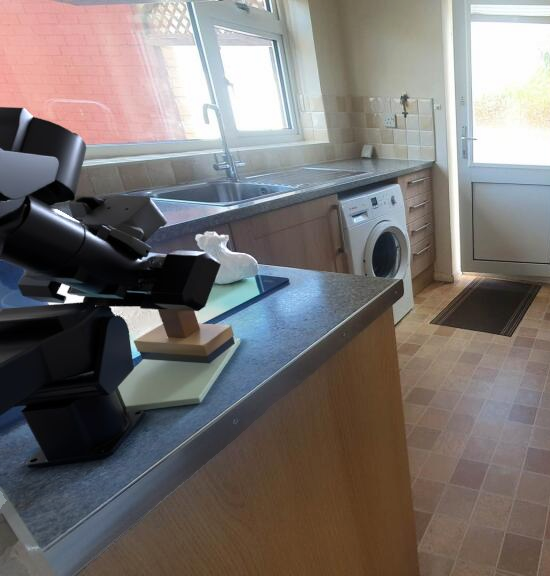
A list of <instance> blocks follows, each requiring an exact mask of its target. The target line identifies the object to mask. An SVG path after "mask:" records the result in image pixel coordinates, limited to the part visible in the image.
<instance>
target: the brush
mask: <svg viewBox="0 0 550 576" xmlns="http://www.w3.org/2000/svg"><path fill="white" fill-rule="evenodd" d="M166 255H167V254H155V255H154V256H160V257H166ZM148 258H149V257H146V258H144V259H142V260H141V261H146V260H147V259H148ZM146 270H148V269H146ZM157 312H158V313H159V317H160V320H161V322H162V324H160V325H158V326H156V327H154V328H153V329H151V330H150V331H147V332H146V333H144V334H143V335H141V336H139V337H138V338H136V339H134V340H133V344H134V345H135V349H136V351H137V352H139V354H140V355H139V356H140V357H141V359H142V360H143V359H146V360H162V361H177V362H192V363H208V364H209V363H211V362H212V361H213V360H215V359H216V358H217V357H218V356H220V355H221V354H222V353H224V352H225V351H226V350H227V349H229V348H230V347H231V346H232V345H234V344H235V342H234V338H235V337H234V336H235V334H234V331H233V327H232V325H230V324H228V325H227V324H213V323H199V321H198V317H197V315H196V311H186V310H173V309H166V310H157Z"/></svg>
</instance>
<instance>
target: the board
mask: <svg viewBox="0 0 550 576" xmlns="http://www.w3.org/2000/svg"><path fill="white" fill-rule="evenodd" d="M233 338H234V342H235V344H234V345H232V346H231V347H230V348H229V349H227V350H226V351H225V352H224V353H222V354H221V355H220V356H218V357H217V358H216V359H215V360H213V361H212V362H211V363H209V364H208V363H192V362H177V361H162V360H146V359H142V360H141V361H140V362H139V363H138V364H136V366H135V367H134V369H133V370H132V372H131V373H130V374H129V375H128V376H127V377H126V378H125V379H124V381H123V382H122V383H121V384H120V385H119V386H118V389H119V391H120V394H121V396H122V399H123V401H124V404H125V406H126V412H129V411H137V410H144V411H148V410H155V409H163V408H173V407H180V406H188V405H197V404H198V405H199V404H201V403H202V402H203V400H204V399H205V397H206V396H207V395H208V393H209V391H210V389H211V388H212V386H213V385H214V384H215V382H216V381H217V379H218V377H219V376H220V374H221V373H222V371H223V370H224V368H225V367H226V365H227V364H228V362H229V361H230V360H231V358H232V356H233V354H235V352H236V351H237V349H238V347H239V346H240V344H241V342H242V341H241V338H240V337H233Z"/></svg>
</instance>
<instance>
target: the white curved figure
mask: <svg viewBox="0 0 550 576" xmlns="http://www.w3.org/2000/svg"><path fill="white" fill-rule="evenodd" d="M229 237H230V236H229V235H228V234H220V235H219V234H218V233H217V232H216V231H209V230H207V231H205V232H203V234H202V233H201V234H200V233H197V234H196V235H195V238H194V240H195V241H196V243H197V244H196V246H198V248H199V249H200V250H202V251H203V252H207V253H209V254H210V255H212V256H213V257H215V258H216V259H218V261H219V262H220V264H221V266H220V268H219V271H218V274H217V276H216V279H215V282H214V284H219V285H225V284H226V285H227V284H231V283H235V282H238V281H241V280H245V279H251V278H255V277H256V276H257V275H258V274H259V269H260V268H259V264H258V261H257V260H256V259H255V258H254V257H253V256H252V255H250V254H247V253H244V252H233V251H231V250H229V248H228V247H227V243H228V241H230V238H229Z"/></svg>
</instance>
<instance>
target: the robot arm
mask: <svg viewBox="0 0 550 576" xmlns="http://www.w3.org/2000/svg"><path fill="white" fill-rule="evenodd" d="M86 151H87V144H86V142H85V140H84V139H83V138H82V137H81V136H80V135H79V134H78V133H76V132H72V131H71V130H69V129H68V128H66V127H64V126H62V125H60V124H58V123H55V122H53V121H49V120H47V119H43V118H40V117H37V116H33V115H32V114H31V113H30V112H29V111H28V110H27V108H25V107H15V106H14V107H13V106H10V107H8V106H0V261H1V262H4V263H7V264H10V265H11V266H14V267H17V268H20V269H22V270H24V271H23V273H22V275H21V277H20V279H19V280H18V282H17V284H16V285H17V287H18V289H19V291H20V294H21V296H22V297H24V298H28V299H31V300H34V301H36V302H40V303H53V304H42V305H30V306H17V307H16V306H15V307H6V308H1V309H0V417H1V416H2V415H4V414H5V413H7V412H8V411H10V410H11V409H13V408H18V407H24V408H23V409H22V410H21V411H20V413H21V415H22V416H23V418H24V420H25V422H26V424H27V425H28V427H29V429H30V431H31V433H32V436H33V437H34V439H35V441H36V442H37V443H36V444H38V446H39V450H37V451H36V452H35V453H34V454H33V455H32V456H31V457H30V458H29V459H28V460H27V461H26V462H25V465H26V466H27V468H28V469H34V468H35V469H36V468H41V467H49V466H56V465H63V464H71V463H76V462H83V461H90V460H91V461H92V460H98V459H105V458H108V457H110V456H112V455H114V453H115V452H116V451H117V450H118V449H119V448H120V446H122V444H123V443H124V441H125V440H126V439H127V438H128V436H129V435H130V434H131V433H132V432H133V431H134V429H135V428H136V427H137V425H138V424H139V423H141V421H142V420H143V419H144V417H145V415H146V413H145V410H137V411H129V412H126V406H125V404H124V401H123V399H122V396H121V394H120V391H119V389H118V386H119V385H120V384H121V383H122V382H123V381H124V379H125V378H126V377H127V376H128V375H129V374H130V373H131V372H132V370H133V369H134V368H135V367H134V359H133V351H132V345H131V344H132V343H131V337H130V330H129V326H128V322H126V319H124V317H122V316H121V315H115V313H114V312H113V310H112V309H113V308H115V307H116V308H117V307H118V308H124V307H125V308H126V307H127V308H128V307H129V308H133V307H135V308H136V307H137V308H139V309H141V310H142V309H144V310H157V311H158V310H166V309H173V310H186V311H194V312H200V311H201V310H203V309H204V308H205V307H206V305H207V303H208V300H209V297H210V294H211V293H212V289H213V287H214V285H215V283H214V282H215V279H216V276H217V274H218V271H219V268H220V266H221V264H220V262H219V261H218V259H216V258H215V257H213V256H212V255H210V254H209V253H207V252H205V251H195V250H194V251H193V250H174V251H172V252H169V253H166V254H165V255H166V257H160V256H155V255H152V256H149V255H150V252H151V250H152V248H153V247H152V246H150V245H148V244H147V243H145V242H147V241H148V240H149V239H150V238H152V236H153V235H154V234H155V233H157V232H158V230H159V229H160V228H161V227H162V228H163V227H165V226H166V225H167V224H168V219H167V217H166V216H165V215H164V213H163V212H162V211H161V210H160V208H159V207H158V206H157V205H156V203H155V202H154V201H153V199H152V198H151V197H150V196H147V195H132V194H131V195H130V194H129V195H127V194H117V195H112V196H103V197H101V199H100V198H99V197H96V196H94V195H76V194H77V190H78V185H79V182H80V178H81V175H82V168H83V165H84V162H85V161H84V160H85V157H86V153H87V152H86ZM66 202H67V205H68V208H69V210H70V213H71V216H70V215H68V214H66V213H64V212H62V211H60V210H59V209H57V208H55V207H53V205H55V204H60V203H66ZM148 256H149V257H148ZM143 258H146V259H147V258H148V259H147V260H146V261H142V260H143ZM146 269H148V270H146ZM62 285H64V286H67V287H68V289H67V291H66V293H67V294H68V295H70V296H77V297H83V299H82V301H81V302H68V303H65V302H66V300H67V296H66V295H64V294H61V293H58V292H59V290H60V289H61V286H62ZM112 307H113V308H112Z"/></svg>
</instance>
